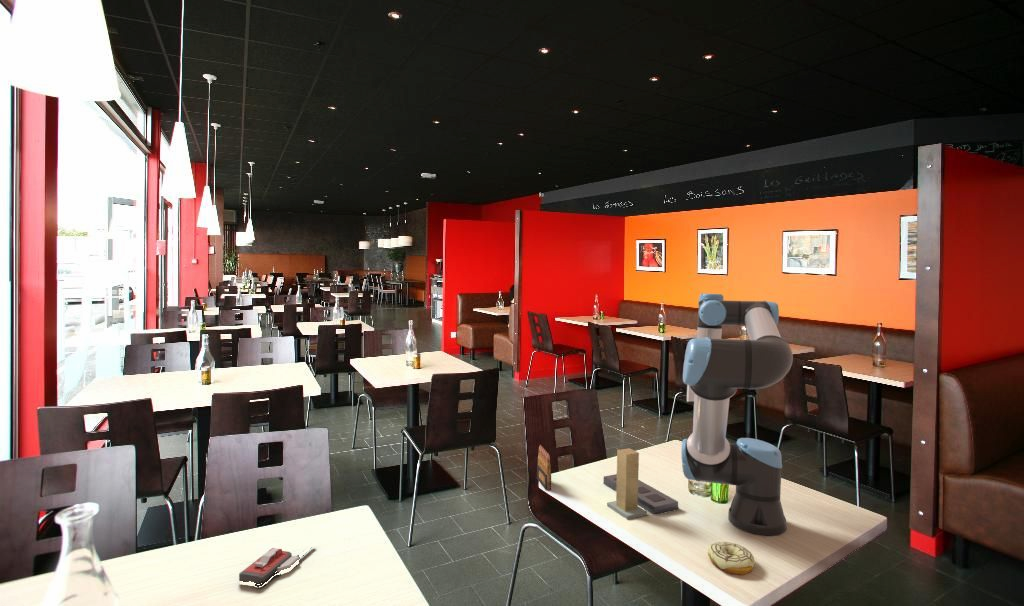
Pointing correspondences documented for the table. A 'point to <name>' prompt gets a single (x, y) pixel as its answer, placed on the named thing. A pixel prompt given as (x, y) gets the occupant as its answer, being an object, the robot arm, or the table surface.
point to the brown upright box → (544, 469)
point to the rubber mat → (627, 514)
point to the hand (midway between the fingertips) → (705, 405)
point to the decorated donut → (731, 557)
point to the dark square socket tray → (647, 497)
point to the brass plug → (627, 479)
